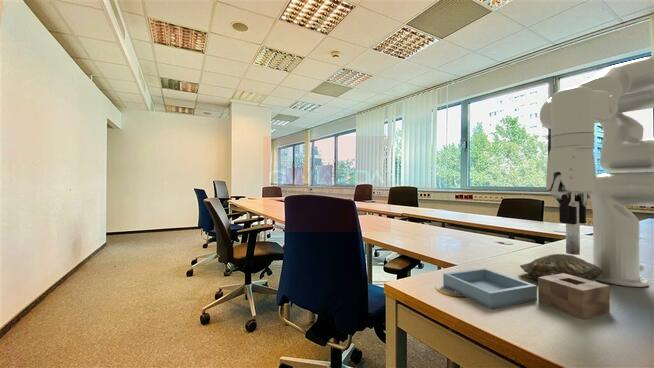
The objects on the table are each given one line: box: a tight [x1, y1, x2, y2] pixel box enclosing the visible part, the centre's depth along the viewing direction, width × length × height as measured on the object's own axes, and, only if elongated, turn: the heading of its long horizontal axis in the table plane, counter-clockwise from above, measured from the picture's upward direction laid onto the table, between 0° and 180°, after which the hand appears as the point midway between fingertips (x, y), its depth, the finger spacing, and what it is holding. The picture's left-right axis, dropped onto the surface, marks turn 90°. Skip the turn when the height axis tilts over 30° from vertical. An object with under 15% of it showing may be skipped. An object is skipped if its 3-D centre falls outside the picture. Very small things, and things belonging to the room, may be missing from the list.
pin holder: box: [537, 273, 611, 320], centre depth 64 cm, size 9×9×6 cm
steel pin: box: [565, 202, 581, 256], centre depth 64 cm, size 2×2×12 cm
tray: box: [442, 267, 538, 309], centre depth 73 cm, size 15×15×4 cm
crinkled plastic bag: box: [519, 253, 603, 282], centre depth 82 cm, size 16×9×20 cm
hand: (572, 222), depth 64 cm, fingers closed on steel pin, 2 cm apart
